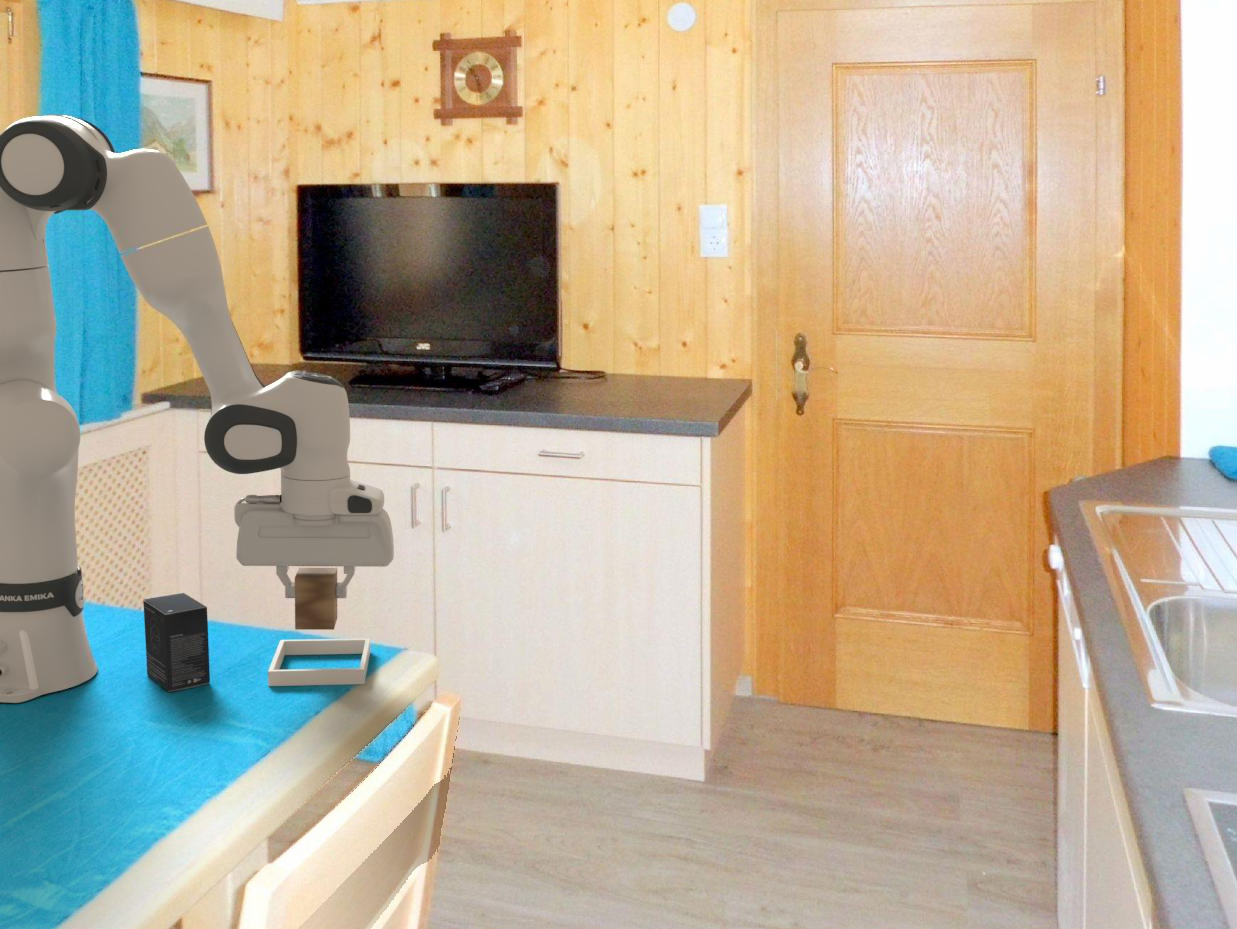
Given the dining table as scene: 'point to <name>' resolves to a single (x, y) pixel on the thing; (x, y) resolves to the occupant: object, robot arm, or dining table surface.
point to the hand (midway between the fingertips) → (316, 597)
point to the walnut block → (315, 599)
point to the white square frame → (319, 675)
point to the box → (176, 641)
